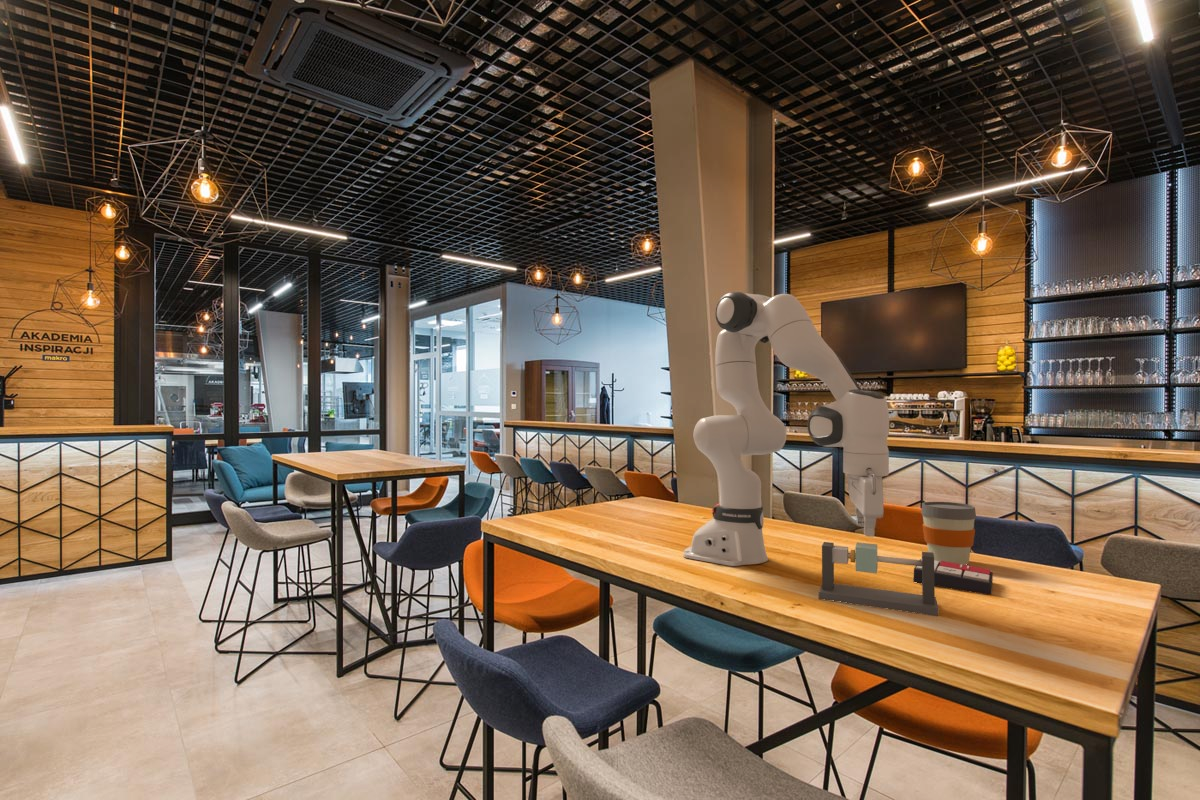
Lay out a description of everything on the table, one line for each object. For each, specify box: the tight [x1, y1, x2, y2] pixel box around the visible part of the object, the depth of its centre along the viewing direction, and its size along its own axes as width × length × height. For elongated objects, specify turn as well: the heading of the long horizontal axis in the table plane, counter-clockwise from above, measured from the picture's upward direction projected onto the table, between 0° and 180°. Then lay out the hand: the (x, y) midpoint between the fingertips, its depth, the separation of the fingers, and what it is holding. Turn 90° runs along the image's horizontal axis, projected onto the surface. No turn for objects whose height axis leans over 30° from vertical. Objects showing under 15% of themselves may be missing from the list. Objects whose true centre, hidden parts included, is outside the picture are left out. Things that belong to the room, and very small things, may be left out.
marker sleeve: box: [854, 541, 879, 574], centre depth 121 cm, size 4×5×5 cm
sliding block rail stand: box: [818, 541, 939, 617], centre depth 120 cm, size 22×8×11 cm, turn 63°
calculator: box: [913, 558, 994, 596], centre depth 134 cm, size 11×4×15 cm
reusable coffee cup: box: [920, 501, 977, 565], centre depth 152 cm, size 13×13×15 cm
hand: (865, 530), depth 122 cm, fingers open, 8 cm apart
